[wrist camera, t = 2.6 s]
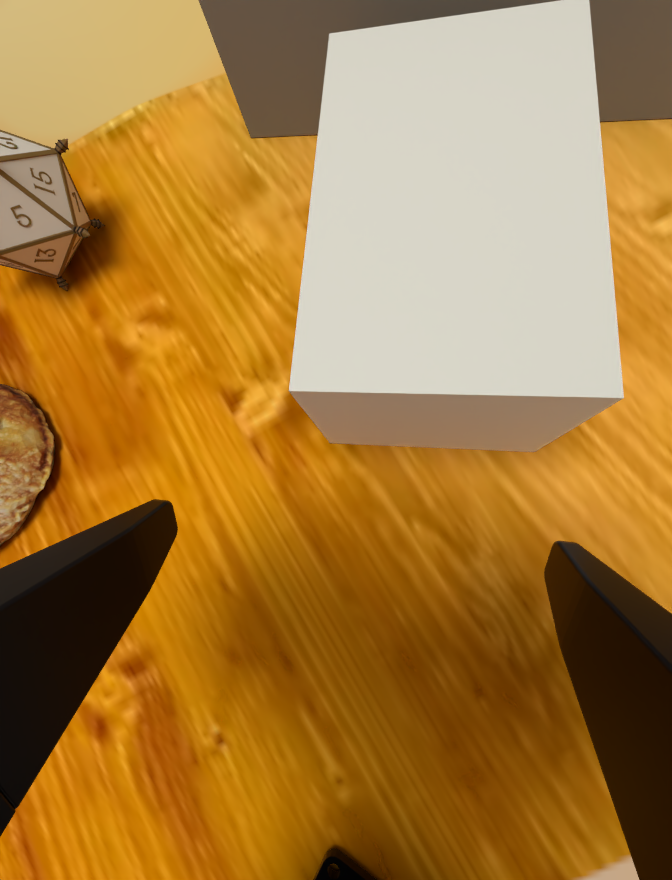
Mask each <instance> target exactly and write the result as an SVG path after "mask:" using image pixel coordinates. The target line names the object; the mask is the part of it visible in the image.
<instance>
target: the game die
mask: <svg viewBox="0 0 672 880" xmlns="http://www.w3.org/2000/svg"><path fill="white" fill-rule="evenodd" d="M55 144H56V147H55V148H51V147H48V146H45V145H42V144H39V143H36V142H34V141H31V140H28V139H25V138H22V137H19V136H17V135H14V134H11V133H8V132H5V131H2V130H0V265H2V266H6V267H11V268H15V269H19V270H23V271H28V272H32V273H36V274H40V275H45V276H49V277H53V278H56V279H57V284H59V287H61V288H63V289H64V290H66V291H68V283H66V280H64V279H63V278H62V274H63V273H64V271H65V269H66V268H67V266H68V264H69V262H70V261H71V259H72V257H73V255H74V254H75V252H76V250H77V248H78V247H79V245H80V243H81V241H82V240H83V239H84V238H86V237H88V236H91V235H90V234H89V232H88V229H89V228H90V226H91V225H92V226H93V227H94V228H95V227H97V228H98V229H99V228H101V227H103V226H105V225H104V224H102V223H101V222H100V221H99V219H98V220H95V219H94V220H91V219H90V218H89V215H88V213H87V211H86V209H85V207H84V205H83V202H82V200H81V198H80V196H79V194H78V191H77V189H76V187H75V185H74V183H73V181H72V178H71V176H70V174H69V172H68V170H67V167H66V165H65V163H64V161H63V159H62V157H61V153H63V152H65V153H66V150H67V149H68V139H63V140H58V142H57V143H55ZM68 150H69V149H68Z"/></svg>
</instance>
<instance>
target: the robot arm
mask: <svg viewBox="0 0 672 880" xmlns="http://www.w3.org/2000/svg"><path fill="white" fill-rule="evenodd" d="M177 530H178V527H177V522H176V518H175V513H174V509H173V505H172V503H171V502H170V501H167V500H157V499H155V500H151V501H149V502H147V503H145V504H142V505H140V506H138V507H136V508H134V509H131V510H129V511H127V512H125V513H122V514H120V515H118V516H116V517H114V518H111V519H109V520H107V521H105V522H103V523H100V524H98V525H96V526H94V527H91V528H89V529H87V530H85V531H83V532H80V533H78V534H76V535H74V536H71V537H69V538H67V539H65V540H63V541H60V542H58V543H56V544H54V545H52V546H49V547H47V548H45V549H43V550H40V551H38V552H36V553H34V554H32V555H29V556H27V557H25V558H23V559H21V560H18V561H16V562H14V563H12V564H9V565H7V566H5V567H3V568H1V569H0V836H1V835H2V833H3V831H4V830H5V828H6V826H7V825H8V823H9V822H10V820H11V818H12V817H13V815H14V813H15V811H16V810H15V809H16V808H17V807H18V806H19V805H20V803H21V801H22V800H23V798H24V796H25V795H26V793H27V792H28V790H29V788H30V787H31V785H32V783H33V782H34V780H35V778H36V777H37V775H38V773H39V772H40V770H41V769H42V767H43V765H44V764H45V762H46V760H47V759H48V757H49V755H50V754H51V752H52V751H53V749H54V747H55V746H56V744H57V742H58V741H59V739H60V737H61V736H62V734H63V733H64V731H65V729H66V728H67V726H68V724H69V723H70V721H71V719H72V718H73V716H74V714H75V713H76V711H77V710H78V708H79V706H80V705H81V703H82V701H83V700H84V698H85V696H86V695H87V693H88V692H89V690H90V688H91V687H92V685H93V683H94V682H95V680H96V678H97V677H98V675H99V673H100V672H101V670H102V669H103V667H104V665H105V664H106V662H107V660H108V659H109V657H110V655H111V654H112V652H113V651H114V649H115V647H116V646H117V644H118V642H119V641H120V639H121V637H122V636H123V634H124V633H125V631H126V629H127V628H128V626H129V624H130V623H131V621H132V619H133V618H134V616H135V614H136V613H137V611H138V610H139V608H140V606H141V605H142V603H143V601H144V600H145V598H146V596H147V595H148V593H149V591H150V589H151V587H152V585H153V583H154V582H155V580H156V577H157V575H158V573H159V571H160V569H161V567H162V565H163V563H164V561H165V559H166V557H167V555H168V552H169V550H170V548H171V546H172V544H173V542H174V540H175V538H176V535H177ZM544 577H545V583H546V587H547V592H548V596H549V601H550V605H551V610H552V614H553V619H554V623H555V628H556V632H557V637H558V641H559V645H560V648H561V651H562V655H563V658H564V661H565V664H566V667H567V670H568V672H569V675H570V678H571V681H572V684H573V687H574V690H575V693H576V696H577V699H578V702H579V705H580V708H581V710H582V713H583V716H584V719H585V722H586V725H587V728H588V731H589V734H590V737H591V740H592V743H593V745H594V748H595V751H596V754H597V757H598V760H599V763H600V766H601V769H602V772H603V775H604V778H605V781H606V783H607V786H608V789H609V792H610V795H611V798H612V801H613V804H614V807H615V810H616V813H617V816H618V818H619V821H620V824H621V827H622V830H623V833H624V836H625V839H626V842H627V845H628V848H629V851H630V854H631V856H632V859H633V862H634V865H635V868H636V871H637V874H638V877H639V880H672V614H671V613H670V612H668V611H667V610H666V609H664V608H663V607H662V606H660V605H659V604H658V603H656V602H655V601H654V600H652V599H651V598H650V597H648V596H647V595H646V594H644V593H643V592H642V591H640V590H639V589H638V588H636V587H635V586H634V585H632V584H631V583H630V582H628V581H627V580H626V579H624V578H623V577H622V576H620V575H619V574H618V573H616V572H615V571H614V570H612V569H611V568H610V567H608V566H607V565H606V564H604V563H603V562H602V561H600V560H599V559H598V558H596V557H595V556H594V555H592V554H591V553H590V552H588V551H587V550H586V549H584V548H583V547H582V546H580V545H579V544H577V543H574V542H566V541H556V542H555V543H554V544H553V546H552V548H551V551H550V554H549V557H548V560H547V563H546V566H545V571H544ZM330 864H336V865H337V866H338V867H339V870H338V871H334V870H332V869H331V867H330ZM313 880H377V879H376V878H374V877H373V876H372V875H371V874H369V873H368V872H367V871H366V870H364V869H363V868H362V867H360V866H359V865H358V864H357V863H355V862H354V861H353V860H352V859H350V858H349V857H348V856H347V855H345V854H344V853H343V852H342V851H340V850H338V849H331V850H329V851H327V853H326V854H325V856H324V858H323V860H322V862H321V864H320V866H319V869H318V871H317V873H316V875H315V877H314V879H313Z"/></svg>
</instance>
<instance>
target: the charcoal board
mask: <svg viewBox="0 0 672 880" xmlns="http://www.w3.org/2000/svg"><path fill="white" fill-rule="evenodd" d="M553 1H560V0H199V3H200V5H201V8H202V10H203V13H204V16H205V18H206V21H207V24H208V26H209V29H210V31H211V34H212V37H213V39H214V42H215V45H216V47H217V50H218V53H219V55H220V57H221V60H222V63H223V66H224V68H225V71H226V74H227V76H228V79H229V81H230V84H231V87H232V89H233V92H234V95H235V97H236V100H237V103H238V105H239V108H240V110H241V113H242V116H243V118H244V121H245V124H246V126H247V129H248V131H249V134H250V137H251V138H255V137H277V136H299V135H318V129H319V121H320V112H321V103H322V94H323V85H324V76H325V68H326V59H327V50H328V41H329V34H330V33H337V32H344V31H351V30H358V29H365V28H372V27H379V26H385V25H392V24H399V23H406V22H413V21H420V20H427V19H434V18H441V17H448V16H455V15H462V14H469V13H476V12H483V11H490V10H497V9H504V8H511V7H518V6H525V5H532V4H539V3H546V2H553ZM589 3H590V15H591V26H592V38H593V49H594V61H595V72H596V84H597V95H598V107H599V118H600V122H601V121H623V120H645V119H666V118H672V0H589Z"/></svg>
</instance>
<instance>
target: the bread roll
mask: <svg viewBox="0 0 672 880" xmlns="http://www.w3.org/2000/svg"><path fill="white" fill-rule="evenodd" d="M54 455H55V443H54V436H53V434H52V433H51V431H50V429H49V427H48V424H47V422H46V420H45V417H44V414H43V412H42V411H41V410H40V409H38V408H37V407H36V405H35V404H34V402H33V401H32V400H31V399H30V397H29V396H28V395H27V394H25V393H24V392H22V391H20V390H15V389H13V388H12V387H10V386H7V385H3V384H0V545H1V544H2V543H3V542H5V541H6V540H8V539H10V538H11V537H12V536H13V535H14V534H15V533H16V532H17V531H18V530H19V529H20V527H21V526H22V524H23V523H24V521H25V520H26V518H27V517H28V516H29V515H28V514H29V513H30V512H31V509H32V507H33V506H34V503H35V499H36V497H37V495H38V493H39V492H40V491H41V490H42V489H44V487H45V484H46V481H47V479H48V478H49V476H50V474H51V469H52V467H53V464H54Z"/></svg>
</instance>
